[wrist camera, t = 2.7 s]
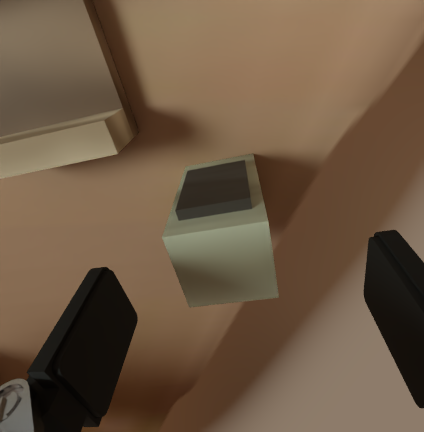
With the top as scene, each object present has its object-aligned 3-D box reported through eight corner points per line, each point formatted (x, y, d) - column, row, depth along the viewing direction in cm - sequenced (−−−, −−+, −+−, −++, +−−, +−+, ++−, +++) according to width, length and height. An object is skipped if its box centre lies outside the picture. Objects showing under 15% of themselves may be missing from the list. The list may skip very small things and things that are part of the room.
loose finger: (261, 212, 18) (278, 297, 12) (201, 222, 19) (189, 307, 13) (251, 145, 16) (266, 209, 10) (183, 158, 16) (157, 226, 10)
